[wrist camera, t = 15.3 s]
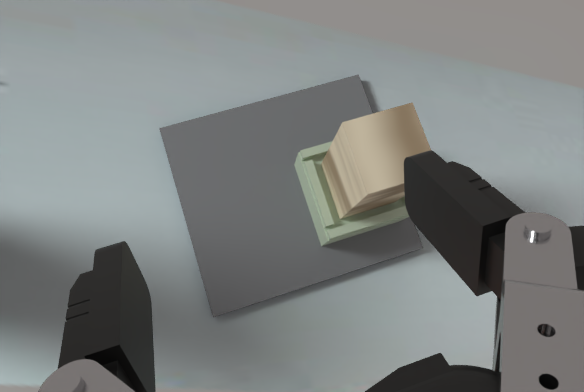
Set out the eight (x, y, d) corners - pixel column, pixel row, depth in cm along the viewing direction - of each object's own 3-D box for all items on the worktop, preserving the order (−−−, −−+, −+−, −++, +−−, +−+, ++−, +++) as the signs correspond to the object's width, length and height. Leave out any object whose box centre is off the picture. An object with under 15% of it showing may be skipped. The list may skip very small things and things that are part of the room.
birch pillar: (339, 219, 40) (367, 194, 30) (320, 164, 41) (342, 122, 31) (394, 202, 40) (439, 172, 31) (374, 148, 41) (412, 102, 32)
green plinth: (321, 246, 43) (329, 240, 38) (294, 165, 45) (299, 149, 40) (401, 220, 44) (419, 211, 40) (373, 141, 46) (386, 124, 41)
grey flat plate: (214, 316, 42) (213, 317, 41) (161, 132, 45) (159, 128, 44) (419, 248, 45) (423, 247, 44) (356, 79, 48) (358, 74, 47)
